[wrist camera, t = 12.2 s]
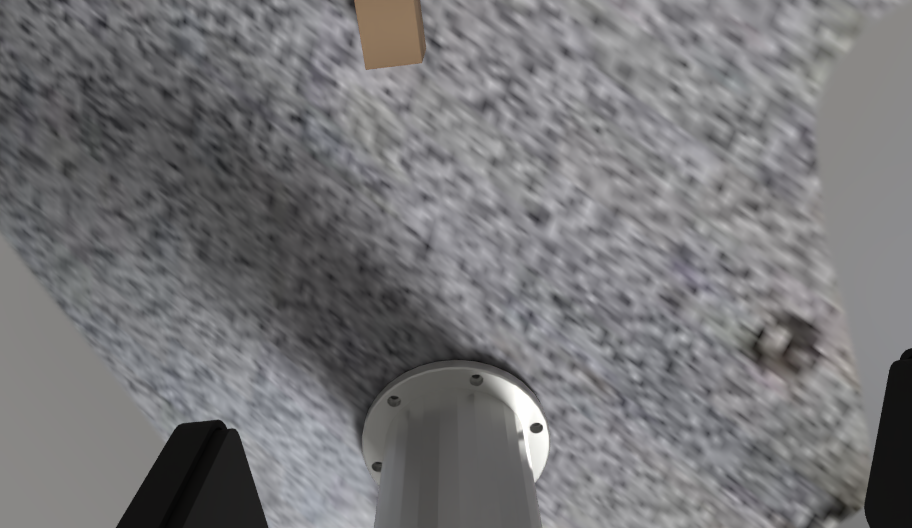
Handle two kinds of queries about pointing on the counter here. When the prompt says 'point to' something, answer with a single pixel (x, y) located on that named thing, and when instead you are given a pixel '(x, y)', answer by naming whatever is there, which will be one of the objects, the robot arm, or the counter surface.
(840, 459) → the counter surface
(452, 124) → the counter surface
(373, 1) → the notched wooden beam
